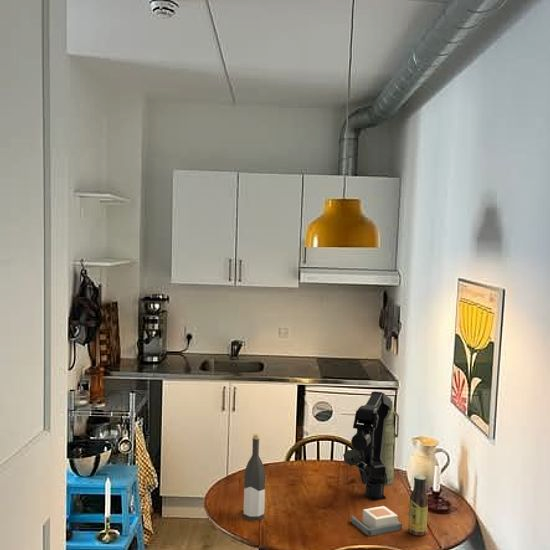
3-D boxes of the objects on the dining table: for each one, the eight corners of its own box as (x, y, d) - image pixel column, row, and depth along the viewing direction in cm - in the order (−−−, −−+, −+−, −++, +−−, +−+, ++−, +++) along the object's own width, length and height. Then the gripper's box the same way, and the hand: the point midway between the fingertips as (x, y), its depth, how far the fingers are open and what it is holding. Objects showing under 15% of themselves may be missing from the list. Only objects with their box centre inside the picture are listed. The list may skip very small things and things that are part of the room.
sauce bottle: (405, 528, 205) (407, 472, 204) (422, 528, 205) (424, 472, 205) (411, 537, 198) (413, 480, 198) (429, 537, 199) (431, 479, 198)
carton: (383, 519, 212) (384, 505, 212) (397, 529, 204) (397, 515, 204) (362, 523, 209) (363, 509, 208) (375, 533, 201) (376, 519, 201)
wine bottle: (267, 513, 214) (270, 433, 213) (260, 522, 206) (262, 439, 205) (247, 509, 216) (249, 430, 215) (239, 518, 209) (241, 436, 208)
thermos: (369, 476, 253) (371, 397, 252) (396, 479, 250) (399, 399, 249) (367, 484, 244) (370, 401, 243) (396, 487, 242) (399, 404, 241)
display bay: (383, 515, 214) (383, 510, 214) (402, 529, 204) (402, 523, 204) (350, 521, 209) (350, 516, 208) (368, 536, 198) (368, 530, 198)
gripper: (333, 437, 218) (332, 477, 219) (361, 453, 201) (359, 497, 202) (358, 434, 223) (357, 473, 224) (387, 449, 206) (386, 492, 207)
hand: (364, 484), depth 214 cm, fingers closed
